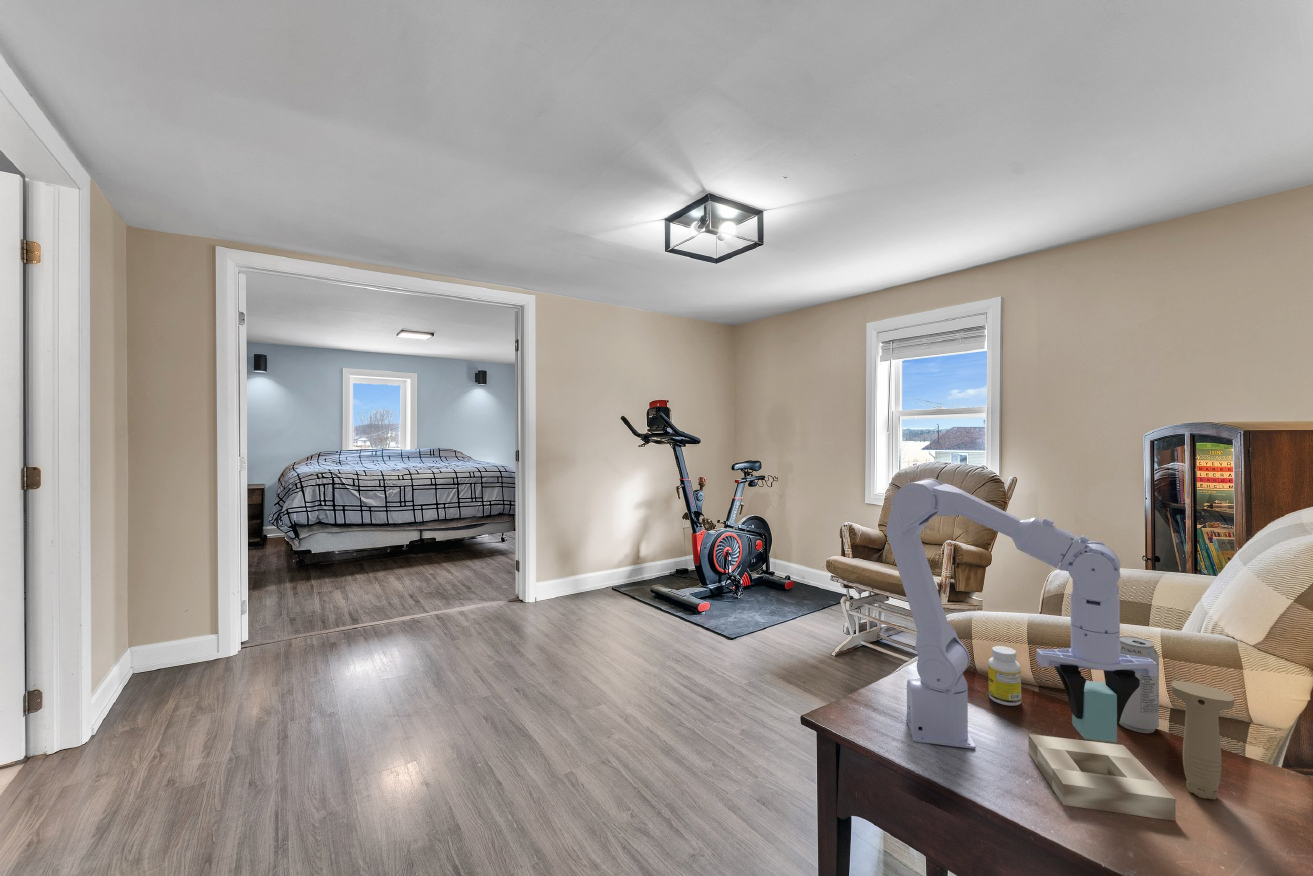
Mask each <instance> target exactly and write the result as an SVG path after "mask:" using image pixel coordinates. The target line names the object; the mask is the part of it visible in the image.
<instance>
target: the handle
mask: <svg viewBox="0 0 1313 876" xmlns="http://www.w3.org/2000/svg"><path fill="white" fill-rule="evenodd" d="M1171 693H1172V695H1173V696H1175V698H1177V699H1179V700H1180V701H1182V702H1183V703H1184V705H1185V717H1184V718H1185V719H1184V720H1185V721H1184V733H1183V741H1182V742H1183V743H1182V765H1183V772H1184V775H1185V776H1184V777H1185V778H1186V781H1185V784H1186V785H1185V786H1186V789H1187V791H1188V792H1189V793H1192V794H1194V795H1196V796H1198V798H1200V799H1203V798H1204V799H1209V800H1212V799H1213V800H1212V801H1214V799H1215V800H1217V798H1218V794H1219V792H1218V790H1219V787H1220V784H1221V778H1222V768H1223V763H1222V759H1223V758H1222V748H1221V736H1220V721H1219V717H1220V716H1219V715H1220V712H1221V711H1229V710H1233V708H1234V707H1235V696H1234V695H1233V694H1232V693H1230V692H1227V691H1225V690H1222V689H1220V688H1215V687H1212V686H1208V685H1203V684H1200V683H1195V682H1189V681H1182V680H1175V681H1172V682H1171ZM1204 799H1203V800H1204Z"/></svg>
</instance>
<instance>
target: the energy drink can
mask: <svg viewBox="0 0 1313 876" xmlns="http://www.w3.org/2000/svg"><path fill="white" fill-rule="evenodd" d="M1120 654H1124V655H1129V656H1135V657H1143V658H1150V659H1151V660H1153V661H1154V662H1156V663H1157V664H1158V676H1157V677H1155V676H1148V675H1147V674H1141V673H1135V676H1136V677H1137V678H1138V679H1139V680H1140V686H1139V688H1138V689H1137V690H1136V691H1135V692H1134V693H1133V694H1132V695H1131V697H1130V698H1129V700H1128V701H1127V703H1126V705H1125V707H1124V710H1123V712H1122V715H1121V718H1120V722H1119V723H1118V724H1119V725H1120V726H1122V727H1123V728H1125V729H1128V730H1130V731H1132V732H1136V733H1143V734H1152V733H1154V732H1155V730H1156V729H1158V728H1159V726H1160V710H1159V709H1160V705H1159V704H1160V700H1159V699H1160V686H1159V685H1160V678H1159V677H1160V666H1159V665H1160V655H1159V653H1158V652H1157V650H1156V648H1155V644H1154V643H1153V642H1152V641H1150V640H1148V639H1145V638H1141V637H1137V636H1132V635H1131V636H1130V635H1129V636H1128V635H1122V636H1121V635H1120Z"/></svg>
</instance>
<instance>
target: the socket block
mask: <svg viewBox="0 0 1313 876" xmlns="http://www.w3.org/2000/svg"><path fill="white" fill-rule="evenodd" d="M1028 754H1029V755H1030V756H1031V758H1032V759H1033V761H1034V763H1035V764H1036V765H1037V766H1036V767H1038V769H1039V770H1040V772H1041V773H1042V774H1043V776H1044V778H1045V779H1046V781H1047V782H1048V784H1049V785H1050V787H1051V788H1052V790H1053V791H1054V793H1055V794H1056V796H1057V797H1058V799H1059V801H1060V802H1061V804H1063V806H1069V807H1076V808H1083V809H1090V810H1095V811H1096V810H1097V811H1103V812H1109V813H1110V812H1111V813H1117V814H1124V815H1131V816H1139V817H1146V818H1152V819H1157V820H1158V819H1160V820H1167V821H1172V822H1173V821H1174V822H1175V821H1177V819H1176V818H1177V816H1176V814H1177V812H1176V811H1177V810H1176V807H1177V803H1176V800H1177V799H1176V797H1175V796H1174V795H1172V793H1170V791H1169V790H1167V788H1165V787H1164V785H1163V784H1161V782H1160V781H1159V780H1158V779H1157V778H1156V777H1155V776H1154V775H1153V774H1152V773H1151V772H1150V771H1149V770H1148V769H1147V767H1145V765H1143V764H1142V763H1141V761H1139V759H1137V757H1135V755H1133V754H1132V752H1131V751H1130V750H1129V749H1128V748H1127V747H1126V746H1125V745H1124V744H1117V743H1111V742H1102V741H1099V742H1098V741H1093V740H1085V739H1084V740H1082V739H1076V738H1075V739H1074V738H1065V737H1056V736H1048V735H1042V734H1041V735H1040V734H1039V735H1037V734H1030V733H1028Z"/></svg>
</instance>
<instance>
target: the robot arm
mask: <svg viewBox="0 0 1313 876" xmlns="http://www.w3.org/2000/svg"><path fill="white" fill-rule="evenodd" d="M890 503H891V507H890V508H891V509H890V512H889V516H888V521H887V524H886V525H887V526H886V529H885V531H886V536H887V540H888V543H889V546H890V549H891V552H892V554H893V555H892V556H893V559H894V562H895V565H896V568H897V571H898V575H899V578H900V581H901V584H902V588H903V590H904V592H905V597H906V600H907V602H908V605H909V608H910V612H911V615H912V619H913V621H914V624H915V628H916V637H915V638H916V639H915V640H916V641H915V651H916V653H917V662H916V669H917V670H916V671H917V674H918V676H919V678H915V679H914V678H913V679H911V678H910V679H907V681H906V721H907V724H908V728H909V731H910V734H911V737H912V740H913V742H916V743H924V744H932V745H938V746H939V745H940V746H948V747H956V748H965V749H973V750H975V749H976V747H977V746H976V744H975V742H974V740H973V738H972V736H971V734H970V732H969V730H968V729H969V721H968V719H969V717H968V716H969V714H968V713H969V710H968V706H969V705H968V703H969V702H968V698H969V697H968V694H969V693H968V690H969V689H968V682H967V680H966V678H965V676H964V672H965V671H966V670H967V669H968V667H969V666H970V662H971V656H970V653H969V650H968V649H967V648H966V646H965V644H963V642H961V641H960V639H959V637H958V634H957V631H956V630H955V628H954V627H953V626H952V625H951V624H949V621H948V618H947V615H946V612H945V610H944V607H943V603H942V600H941V597H940V594H939V592H938V589H937V585H936V582H935V579H934V576H933V574H932V569H931V566H930V563H929V561H928V557H927V554H926V551H925V549H924V548H925V547H924V545H923V543H922V539H921V533H922V531H923V530H924V529H925V527H926V526H927V524H928V523H929V521H930V520H931V519H932V518H933V517H935V516H937V517H949V516H950V517H951V516H953V517H954V516H961V517H964V518H965V519H968V520H970V521H972V522H975V523H977V524H980V525H982V526H984V527H986V528H988V529H991V530H992V531H993V530H994V531H996V532H998V533H1000V534H1002V535H1005V536H1007V537H1009V538H1011V540H1012V542H1013V543H1014V545H1015V547H1016V550H1018V551H1020V552H1022V553H1024V554H1026V555H1029V556H1030V557H1032V558H1034V559H1036V560H1039V561H1041V562H1042V563H1045V564H1046V565H1048V566H1051V567H1053V568H1054V569H1055V568H1056V569H1057V570H1059V571H1062V572H1065V571H1066V572H1068V574H1069V576H1070V578H1071V579H1072V590H1071V592H1070V648H1069V647H1068V648H1057V649H1056V648H1054V649H1051V648H1050V649H1041V648H1036V649H1035V652H1036V653H1035V655H1036V659H1035V662H1036V663H1037V664H1038V665H1039V666H1040V667H1041V668H1042V667H1043V668H1044V667H1045V668H1049V667H1052V666H1053V667H1054V669H1055V671H1056V673H1057V675H1058V676H1059V678H1060V679H1059V680H1061V683H1062V685H1063V688H1064V690H1065V693H1066V696H1067V699H1068V703H1069V708H1070V713H1071V714H1073V715H1074V716H1075V717H1076V718H1077V719H1082V717H1083V693H1084V687H1085V683H1086V681H1087V679H1086V678H1085V677H1084V676H1083V675H1082V672H1081V670H1080V669H1083V670H1084V669H1085V670H1086V669H1087V670H1094V671H1095V670H1096V671H1097V670H1098V671H1103V675H1104V681H1105V682H1104V684H1105V685H1106V686H1108V687H1109V688H1110V689H1111V690H1112V691H1113V692H1114V693H1116V694H1117V724H1119V722H1120V718H1121V715H1122V712H1123V710H1124V707H1125V705H1126V703H1127V701H1128V700H1129V698H1130V697H1131V695H1132V694H1133V693H1134V692H1135V691H1136V690H1137V689H1138V688H1139V686H1140V680H1139V679H1138V678H1137V677H1136V676H1135V673H1141V674H1147V675H1148V676H1155V677H1157V676H1158V664H1157V663H1156V662H1154V661H1153V660H1151V659H1150V658H1143V657H1135V656H1129V655H1124V654H1120V636H1121V634H1120V633H1121V622H1120V621H1121V604H1120V603H1121V600H1120V597H1119V593H1120V587H1119V585H1118V582H1119V580H1120V578H1121V572H1120V571H1121V560H1120V557H1119V556H1118V555H1117V553H1116V552H1115V551H1114V550H1113V549H1111V548H1110V547H1109V546H1106V545H1105V544H1104V543H1103V542H1100V541H1090V537H1088V536H1085V535H1081V536H1077V535H1076V534H1073V533H1072V532H1069V531H1066V530H1064V529H1062V528H1060V527H1057V526H1056V525H1054V523H1055V521H1054V520H1053V519H1050V518H1047V517H1044V518H1043V520H1042V519H1040V518H1038V517H1030V518H1027V519H1020V518H1019V517H1016V516H1015V515H1013V514H1011V513H1008V512H1007V511H1004V510H1002V509H1001V508H999V507H997V506H995V505H993V504H991V503H989V502H986V501H984V500H983V499H981V498H979V497H977V496H975V495H973V494H971V493H968V492H967V491H965V490H963V489H961V488H958V487H956V486H954V485H952V484H947V483H943V482H942V481H940V480H939V479H934V478H929V477H928V478H923V479H920V480H919V481H915V482H913V481H912V482H907V483H905V484H904V485H902V486H901V487H899V489H898V491H896V492H895V494H894V496H893V497H891V500H890Z"/></svg>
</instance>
